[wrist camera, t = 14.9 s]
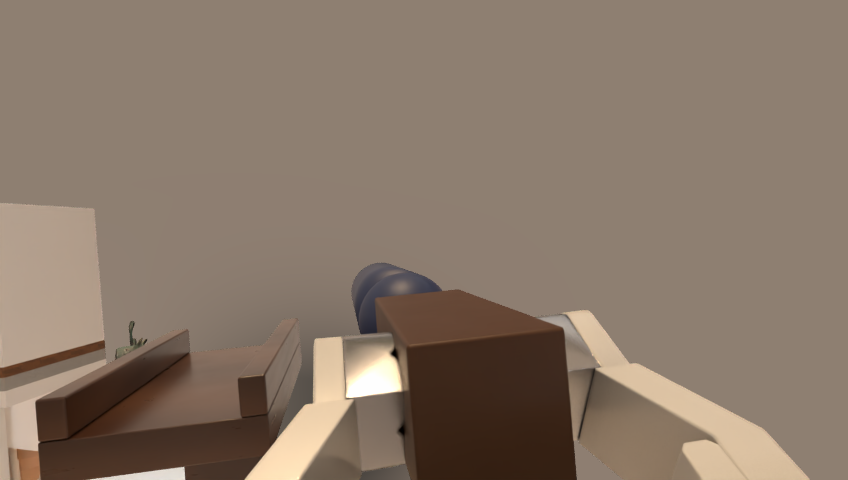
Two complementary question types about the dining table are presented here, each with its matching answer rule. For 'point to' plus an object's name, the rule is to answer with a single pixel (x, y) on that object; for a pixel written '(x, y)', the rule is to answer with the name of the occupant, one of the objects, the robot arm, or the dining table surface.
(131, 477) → the dining table surface
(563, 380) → the brown and blue rod
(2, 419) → the cream lantern
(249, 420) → the brown wooden display stand
